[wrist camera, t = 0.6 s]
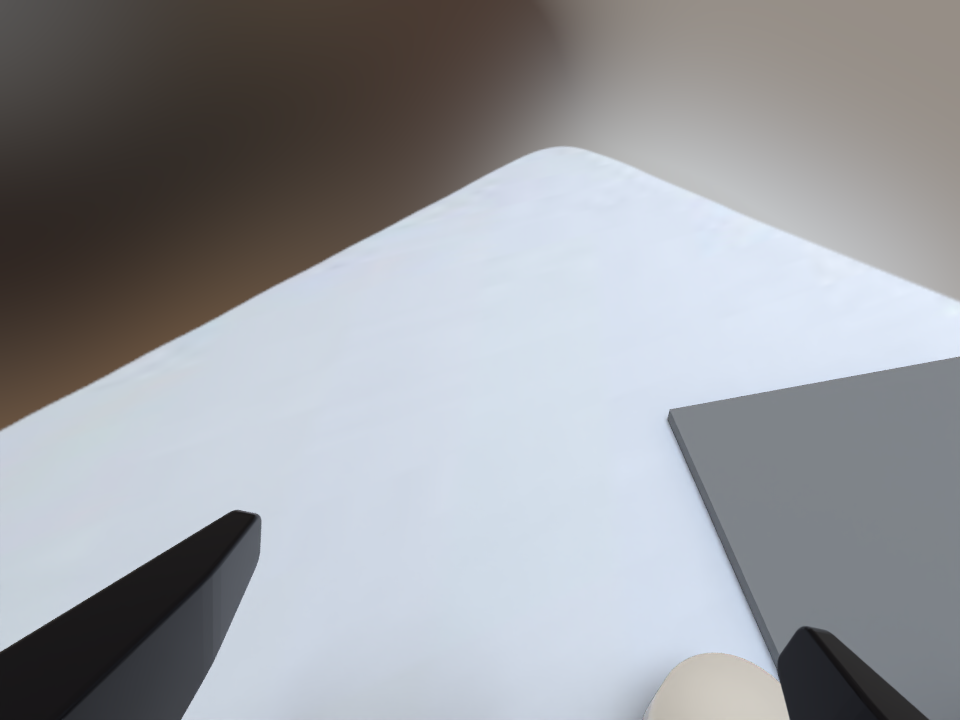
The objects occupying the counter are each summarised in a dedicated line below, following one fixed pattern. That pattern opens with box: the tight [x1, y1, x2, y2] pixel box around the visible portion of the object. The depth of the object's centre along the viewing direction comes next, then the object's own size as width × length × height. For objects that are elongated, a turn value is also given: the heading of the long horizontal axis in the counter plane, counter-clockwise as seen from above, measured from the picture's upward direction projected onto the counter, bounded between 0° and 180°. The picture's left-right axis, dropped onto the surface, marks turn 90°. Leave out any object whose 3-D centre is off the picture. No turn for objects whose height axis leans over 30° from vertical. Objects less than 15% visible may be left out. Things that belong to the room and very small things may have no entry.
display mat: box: [668, 357, 960, 720], centre depth 20 cm, size 17×14×1 cm
